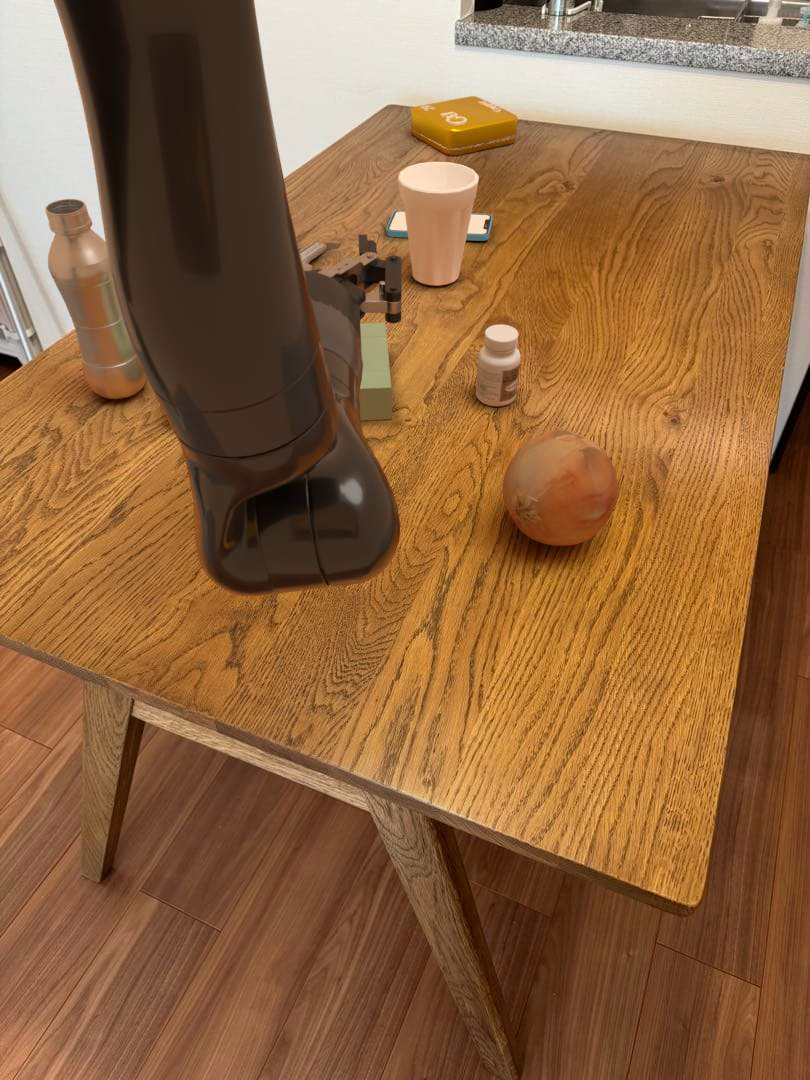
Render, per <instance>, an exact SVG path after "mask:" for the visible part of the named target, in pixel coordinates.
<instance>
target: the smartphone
mask: <svg viewBox="0 0 810 1080" xmlns="http://www.w3.org/2000/svg"><path fill="white" fill-rule="evenodd" d="M493 217H494V216H493V215H492V214H490V213H476V212H472V213H471V218H470V223H469V227H468V232H467V237H466V241H476V242H477V241H479V242H485V241H488V240H489V239H490V235H491V230H492V225H493ZM385 229H386V236H388V237H390V238H407V239H408V233H407V225H406V217H405V210H404V209H403V210H399V209H398V210H395V211H393V212H392V214H391V216H390V219H389V221H388V223H387V225H386V228H385Z"/></svg>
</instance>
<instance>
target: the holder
mask: <svg viewBox="0 0 810 1080" xmlns="http://www.w3.org/2000/svg"><path fill="white" fill-rule="evenodd" d="M360 329H361V350H362V360H363V371H362V381H361V386H360V392H359V397H360V417H361V422H362V421H382V420H383V421H386V420H387V421H388V420H393V399H392V398H393V397H392V395H393V394H392V390H393V389H392V377H391V368H390V367H391V366H390V358H389V357H390V356H389V346H388V335H387V323H386V322H367V323H366V322H365V323H364V322H363V323H361V322H360ZM169 426H170V428H171V429H173V428H172V427H171V425H170V424H169Z"/></svg>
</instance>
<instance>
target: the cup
mask: <svg viewBox="0 0 810 1080" xmlns="http://www.w3.org/2000/svg"><path fill="white" fill-rule="evenodd" d="M479 179H480V176H479V174H478V173H477V172H476V171H475V170H474V169H473V168H471V167H468V166H466V165H463V164H460V163H454V162H450V161H449V162H448V161H428V162H427V161H426V162H419V163H416V164H413V165H409V166H407V167H406V168H404V169H402V170H401V171H400V172H399V173H398V177H397V184H398V194H399V195H400V199H401V200H402V203H403V208H404V209H403V211H405V217H406V225H407V233H408V238H407V239H408V240H407V241H408V246H409V248H408V249H409V254H410V255H409V256H410V261H411V262H410V263H411V270H412V271H411V272H412V274H411V276H412V277H413V279H414V280H415V281H417V282H419V283H421V284H424V285H428V286H443V285H444V286H445V285H449V284H451V283H454V282H456V281H457V280H458V279H459V277H460V272H461V266H462V262H463V257H464V251H465V247H466V241H467V240H466V237H467V232H468V227H469V223H470V218H471V213H473V207H474V202H475V199H476V197H477V193H478V192H477V191H478V187H479Z"/></svg>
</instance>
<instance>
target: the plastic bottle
mask: <svg viewBox="0 0 810 1080" xmlns="http://www.w3.org/2000/svg"><path fill="white" fill-rule="evenodd" d="M44 210H45V214H46V217H47V220H48V226H49V230H50V231H51V232H52V233H53V234H54V236H53V238H52V240H51V244H50V247H49V250H48V255H47V268H48V270H49V273H50V276H51V278H52V279H53V282H54V284H55V286H56V288H57V290H58V292H59V294H60V296H61V298H62V300H63V302H64V304H65V306H66V309H67V312H68V315H69V316H70V318H71V322H72V324H73V327H74V329H75V334H76V338H77V342H78V346H79V350H80V355H81V356H80V359H81V360H80V361H81V368H82V373H83V377H84V379H85V381H86V382H87V384H88V387H89V388H90V389H91V391H93V392H94V393H95V394H97V395H98V396H100V397H102V398H104V399H109V400H120V399H125V398H128V397H129V398H130V397H132V396H134V395H136V394H138V393H139V392H140V391H141V390H142V389H143V387H144V385H145V384H146V381H147V377H146V375H145V373H144V371H143V369H142V367H141V365H140V363H139V361H138V358H137V356H136V354H135V351H134V349H133V346H132V344H131V341H130V338H129V335H128V333H127V330H126V327H125V324H124V320H123V317H122V313H121V309H120V305H119V302H118V298H117V295H116V291H115V287H114V282H113V278H112V273H111V269H110V264H109V258H108V253H107V247H106V241H105V240H104V239H103V238H102V237H101V236H100V235H99V234H98V233H96V232H95V231H94V230H93V229H92V226H93V221H92V218H91V217H90V215H89V211H88V208H87V205H86V203H85V201H83V200H81V199H76V198H65V199H59V200H54V201H52V202H50V203H48V204H47V205H45V208H44Z"/></svg>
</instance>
